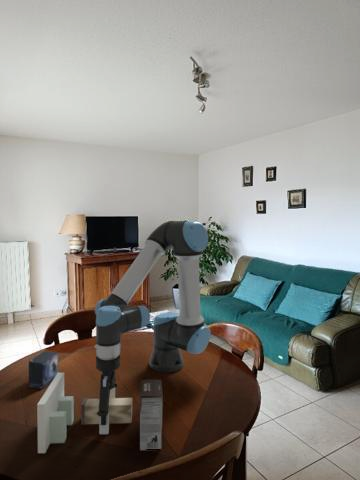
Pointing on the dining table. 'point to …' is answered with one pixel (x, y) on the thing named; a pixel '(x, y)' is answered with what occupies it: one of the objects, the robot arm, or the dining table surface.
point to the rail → (117, 411)
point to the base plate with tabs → (54, 414)
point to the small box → (43, 369)
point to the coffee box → (151, 414)
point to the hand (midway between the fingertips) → (107, 419)
